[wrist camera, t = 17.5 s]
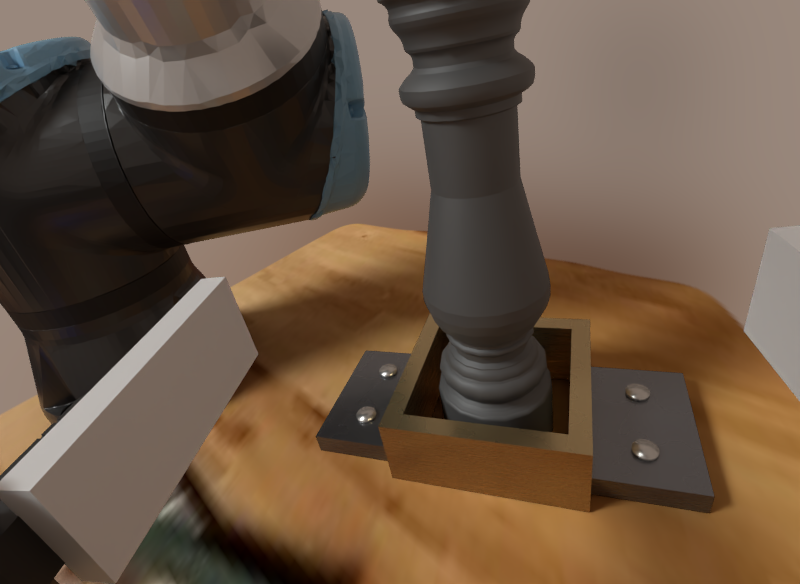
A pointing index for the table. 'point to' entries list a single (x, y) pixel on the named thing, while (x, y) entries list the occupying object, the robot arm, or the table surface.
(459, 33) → the candle holder
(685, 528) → the table surface
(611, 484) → the square socket fixture
